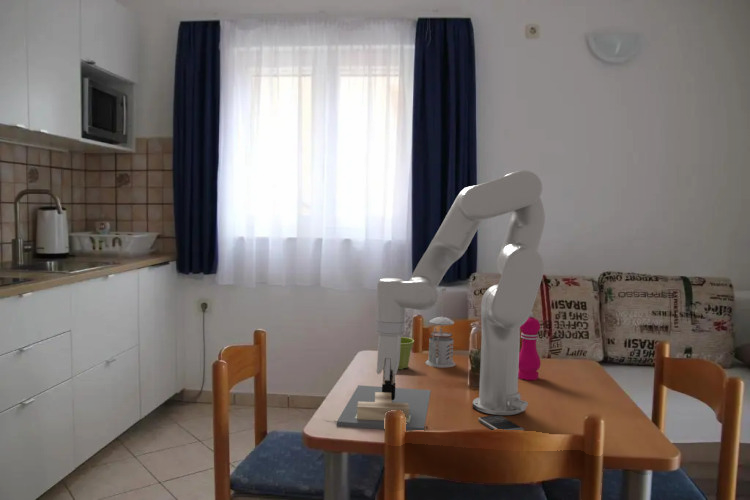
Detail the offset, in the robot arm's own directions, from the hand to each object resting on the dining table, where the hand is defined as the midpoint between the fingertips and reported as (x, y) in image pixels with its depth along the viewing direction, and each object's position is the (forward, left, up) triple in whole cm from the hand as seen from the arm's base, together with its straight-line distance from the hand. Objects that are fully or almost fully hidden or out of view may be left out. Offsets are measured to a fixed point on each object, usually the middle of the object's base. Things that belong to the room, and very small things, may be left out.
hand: (388, 398), depth 161 cm
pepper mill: (-1, -53, -2) cm, 53 cm away
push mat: (-2, +1, -2) cm, 3 cm away
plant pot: (+29, -27, -2) cm, 39 cm away
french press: (+25, -41, -2) cm, 47 cm away
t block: (-6, +6, -1) cm, 8 cm away
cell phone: (-26, -13, -3) cm, 29 cm away
